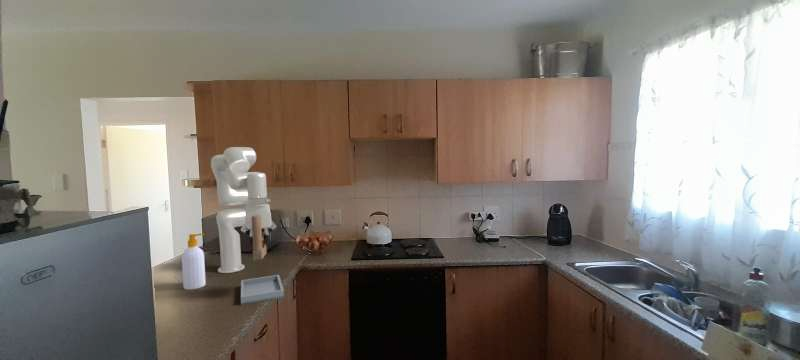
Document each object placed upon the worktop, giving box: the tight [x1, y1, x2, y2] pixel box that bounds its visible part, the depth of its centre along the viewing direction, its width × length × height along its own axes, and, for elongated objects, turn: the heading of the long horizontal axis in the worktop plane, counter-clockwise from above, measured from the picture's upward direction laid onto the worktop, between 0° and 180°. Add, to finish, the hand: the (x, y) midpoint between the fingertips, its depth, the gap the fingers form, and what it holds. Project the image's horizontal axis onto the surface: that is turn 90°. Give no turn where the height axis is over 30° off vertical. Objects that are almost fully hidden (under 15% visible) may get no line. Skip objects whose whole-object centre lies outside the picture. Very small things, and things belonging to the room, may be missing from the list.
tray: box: [240, 274, 285, 306], centre depth 148 cm, size 22×16×3 cm
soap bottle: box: [181, 233, 206, 291], centre depth 156 cm, size 9×9×24 cm
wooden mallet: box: [252, 216, 268, 261], centre depth 146 cm, size 4×11×18 cm, turn 12°
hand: (259, 244), depth 147 cm, fingers closed on wooden mallet, 4 cm apart
